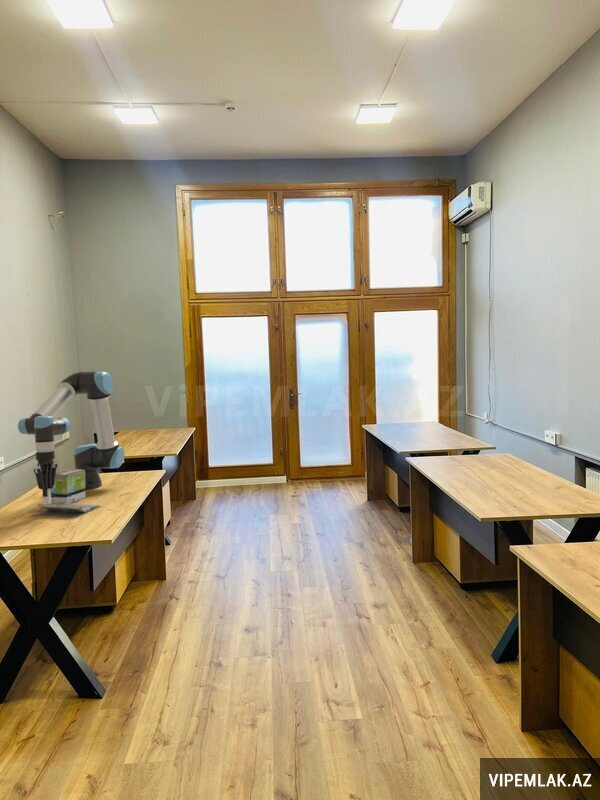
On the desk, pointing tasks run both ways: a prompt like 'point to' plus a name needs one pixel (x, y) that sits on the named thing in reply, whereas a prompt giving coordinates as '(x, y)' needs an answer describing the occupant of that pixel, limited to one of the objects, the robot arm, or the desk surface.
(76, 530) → the desk surface
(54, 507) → the plank
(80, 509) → the plank
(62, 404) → the robot arm
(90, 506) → the laid board
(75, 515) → the grey framed panel
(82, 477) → the tea box
